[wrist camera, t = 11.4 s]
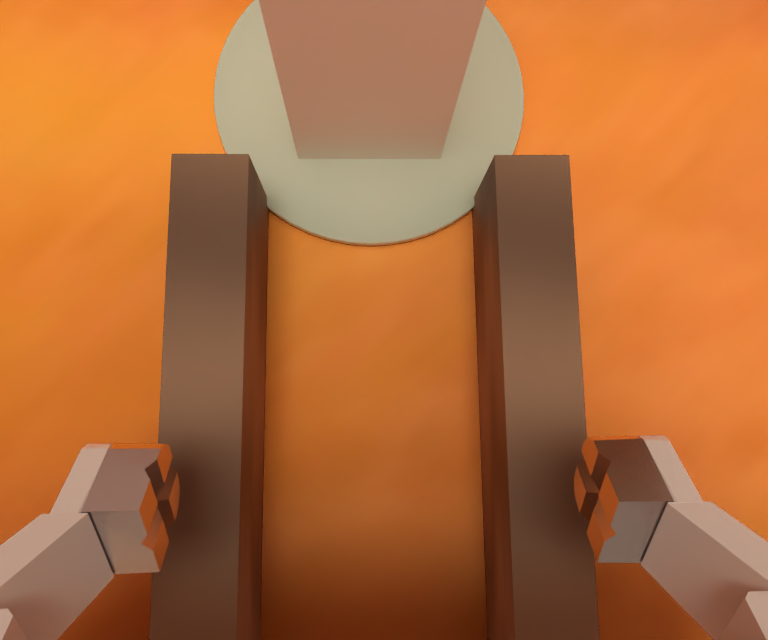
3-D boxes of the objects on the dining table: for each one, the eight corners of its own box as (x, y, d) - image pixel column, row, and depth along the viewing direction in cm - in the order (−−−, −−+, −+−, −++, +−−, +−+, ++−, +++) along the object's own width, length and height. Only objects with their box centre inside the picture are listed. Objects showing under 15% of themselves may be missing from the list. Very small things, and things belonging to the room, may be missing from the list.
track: (566, 824, 17) (617, 926, 14) (181, 837, 17) (135, 944, 13) (533, 201, 20) (569, 155, 17) (205, 200, 20) (171, 153, 16)
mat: (312, 303, 19) (311, 300, 19) (162, 46, 21) (158, 39, 20) (578, 151, 20) (582, 146, 20) (421, -84, 22) (422, -93, 21)
